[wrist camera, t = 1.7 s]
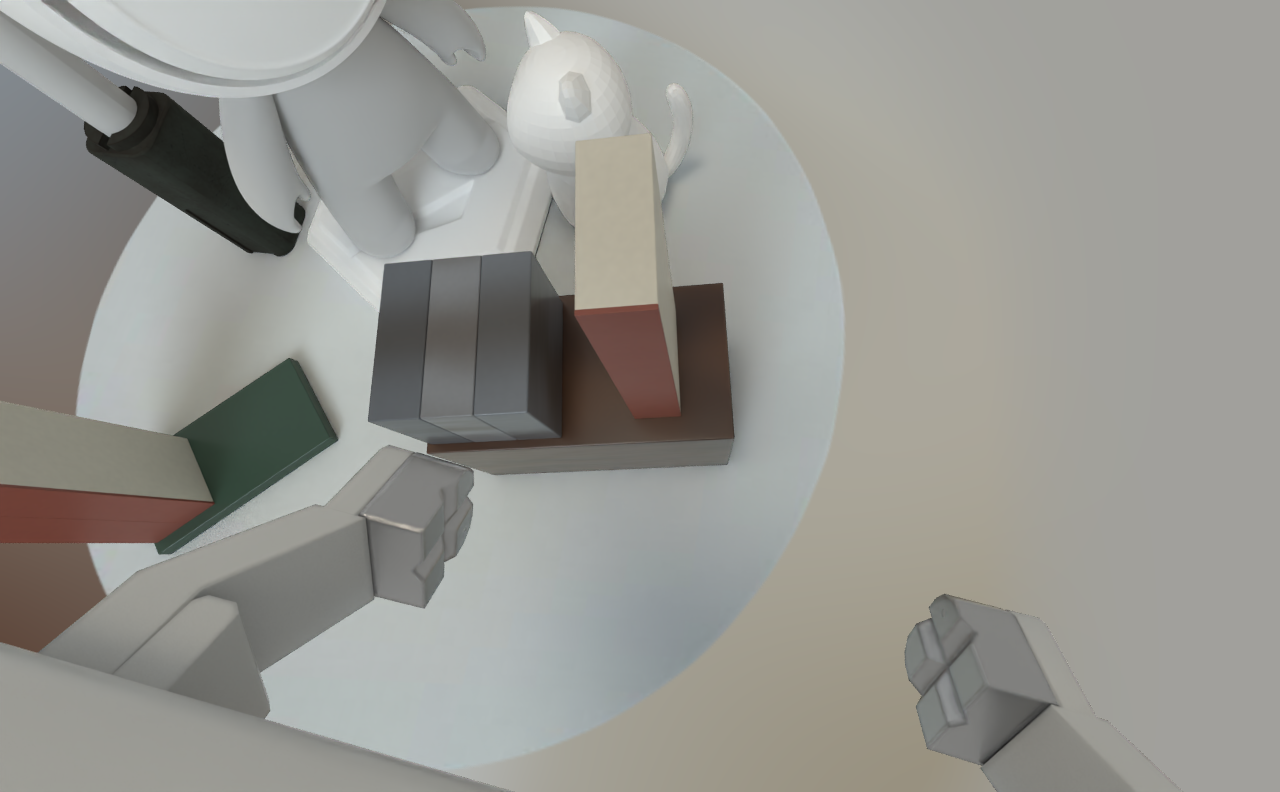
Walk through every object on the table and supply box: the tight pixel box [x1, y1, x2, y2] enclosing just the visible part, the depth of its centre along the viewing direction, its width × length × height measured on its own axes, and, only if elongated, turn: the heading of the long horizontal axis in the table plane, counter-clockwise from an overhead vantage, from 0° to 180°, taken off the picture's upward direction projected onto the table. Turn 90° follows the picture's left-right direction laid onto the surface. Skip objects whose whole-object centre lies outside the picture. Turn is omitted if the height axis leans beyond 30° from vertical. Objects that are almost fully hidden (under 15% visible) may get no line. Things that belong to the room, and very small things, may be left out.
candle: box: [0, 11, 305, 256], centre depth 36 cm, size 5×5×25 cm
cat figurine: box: [507, 11, 693, 227], centre depth 38 cm, size 9×12×15 cm
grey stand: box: [368, 251, 734, 475], centre depth 33 cm, size 9×17×16 cm, turn 92°
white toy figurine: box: [0, 0, 553, 313], centre depth 30 cm, size 20×23×35 cm
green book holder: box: [0, 358, 338, 554], centre depth 36 cm, size 8×15×15 cm, turn 125°
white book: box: [574, 133, 681, 419], centre depth 24 cm, size 6×2×14 cm, turn 2°
